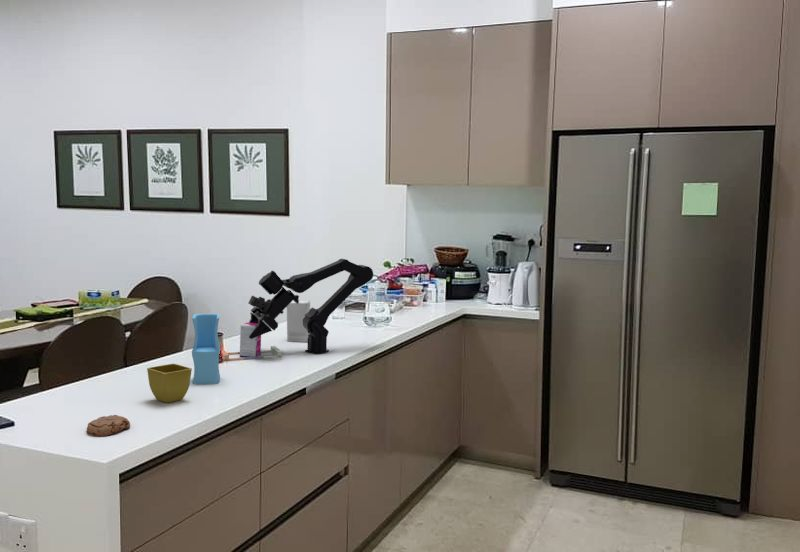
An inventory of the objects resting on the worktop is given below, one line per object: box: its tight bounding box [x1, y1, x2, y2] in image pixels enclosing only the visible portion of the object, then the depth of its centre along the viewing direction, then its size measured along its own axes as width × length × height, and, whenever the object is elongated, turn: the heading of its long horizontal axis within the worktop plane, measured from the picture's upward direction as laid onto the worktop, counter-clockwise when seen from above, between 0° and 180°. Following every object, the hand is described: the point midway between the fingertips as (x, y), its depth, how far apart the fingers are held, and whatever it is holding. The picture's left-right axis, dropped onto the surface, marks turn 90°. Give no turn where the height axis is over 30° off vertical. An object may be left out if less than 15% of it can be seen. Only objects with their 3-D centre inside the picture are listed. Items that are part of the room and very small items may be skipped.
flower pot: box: [146, 363, 192, 404], centre depth 202 cm, size 9×9×9 cm
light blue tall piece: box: [191, 313, 221, 385], centre depth 223 cm, size 8×8×20 cm
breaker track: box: [221, 345, 283, 362], centre depth 258 cm, size 20×10×2 cm, turn 114°
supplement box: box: [239, 322, 262, 358], centre depth 258 cm, size 6×6×12 cm
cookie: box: [86, 414, 131, 438], centre depth 176 cm, size 10×11×3 cm
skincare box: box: [286, 300, 311, 343], centre depth 286 cm, size 8×7×16 cm
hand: (247, 335), depth 257 cm, fingers open, 9 cm apart
